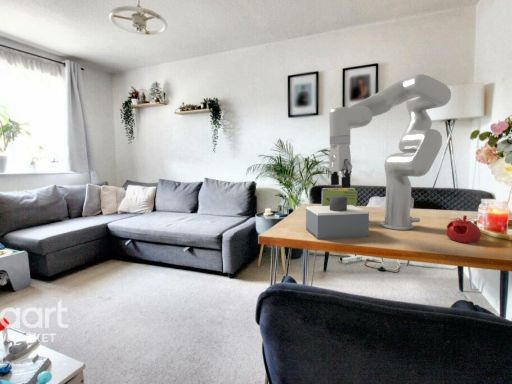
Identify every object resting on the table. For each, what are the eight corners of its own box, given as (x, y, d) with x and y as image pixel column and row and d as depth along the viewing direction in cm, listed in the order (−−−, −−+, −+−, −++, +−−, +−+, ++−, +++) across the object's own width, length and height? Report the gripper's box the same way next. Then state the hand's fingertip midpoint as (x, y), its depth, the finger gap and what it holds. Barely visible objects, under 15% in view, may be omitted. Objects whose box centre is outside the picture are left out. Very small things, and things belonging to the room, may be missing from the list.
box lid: (351, 206, 114) (351, 204, 114) (368, 213, 100) (369, 211, 100) (306, 208, 112) (306, 206, 111) (317, 215, 98) (317, 213, 98)
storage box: (350, 227, 115) (351, 207, 114) (368, 236, 101) (368, 213, 100) (305, 229, 113) (306, 208, 112) (317, 239, 99) (317, 215, 98)
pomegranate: (464, 236, 100) (466, 212, 99) (488, 244, 90) (490, 217, 89) (438, 236, 100) (440, 212, 99) (459, 245, 90) (461, 218, 89)
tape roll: (342, 208, 107) (342, 195, 107) (349, 211, 101) (350, 198, 100) (327, 208, 107) (327, 196, 106) (333, 211, 100) (333, 198, 100)
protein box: (356, 224, 121) (357, 190, 119) (321, 222, 124) (322, 190, 122) (353, 219, 131) (353, 187, 130) (321, 218, 134) (321, 187, 133)
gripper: (322, 143, 109) (322, 184, 111) (340, 140, 92) (340, 189, 94) (339, 142, 110) (339, 183, 112) (360, 139, 93) (360, 188, 95)
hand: (340, 186), depth 103 cm, fingers open, 9 cm apart
